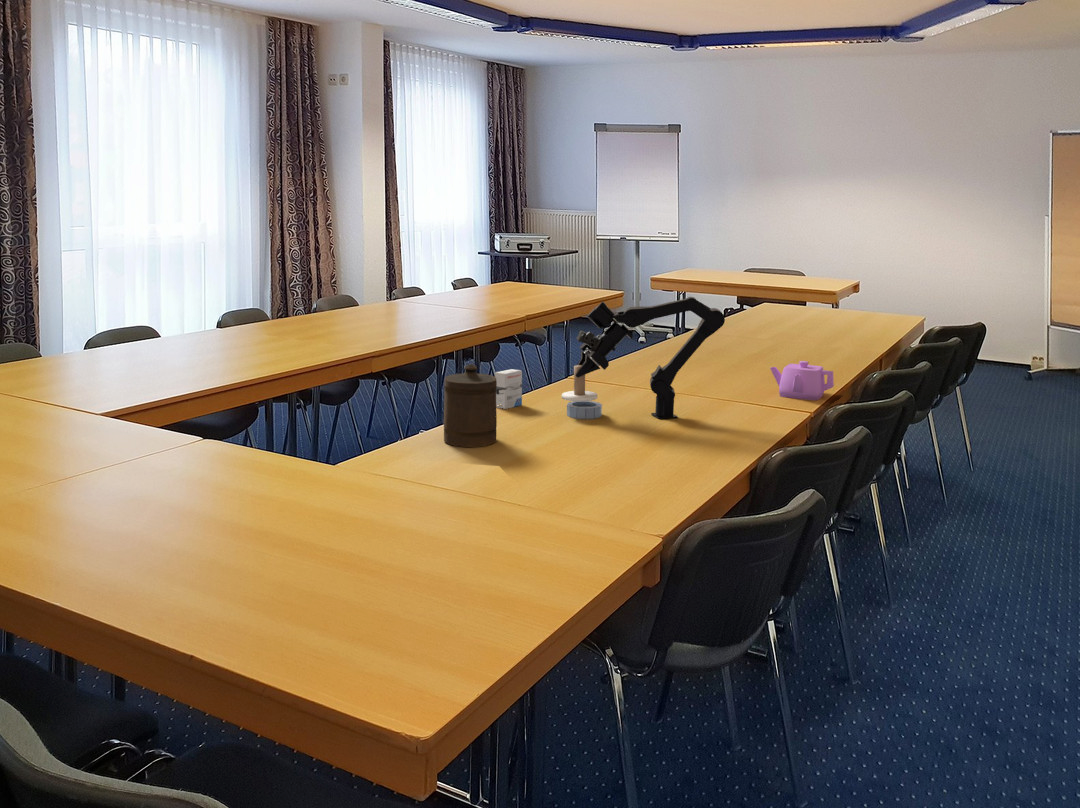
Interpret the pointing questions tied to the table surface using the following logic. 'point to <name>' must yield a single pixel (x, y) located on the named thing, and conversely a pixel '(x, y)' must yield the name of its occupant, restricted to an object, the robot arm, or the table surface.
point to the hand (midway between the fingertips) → (575, 375)
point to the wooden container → (470, 409)
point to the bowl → (584, 409)
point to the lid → (579, 389)
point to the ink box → (509, 388)
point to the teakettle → (803, 381)
